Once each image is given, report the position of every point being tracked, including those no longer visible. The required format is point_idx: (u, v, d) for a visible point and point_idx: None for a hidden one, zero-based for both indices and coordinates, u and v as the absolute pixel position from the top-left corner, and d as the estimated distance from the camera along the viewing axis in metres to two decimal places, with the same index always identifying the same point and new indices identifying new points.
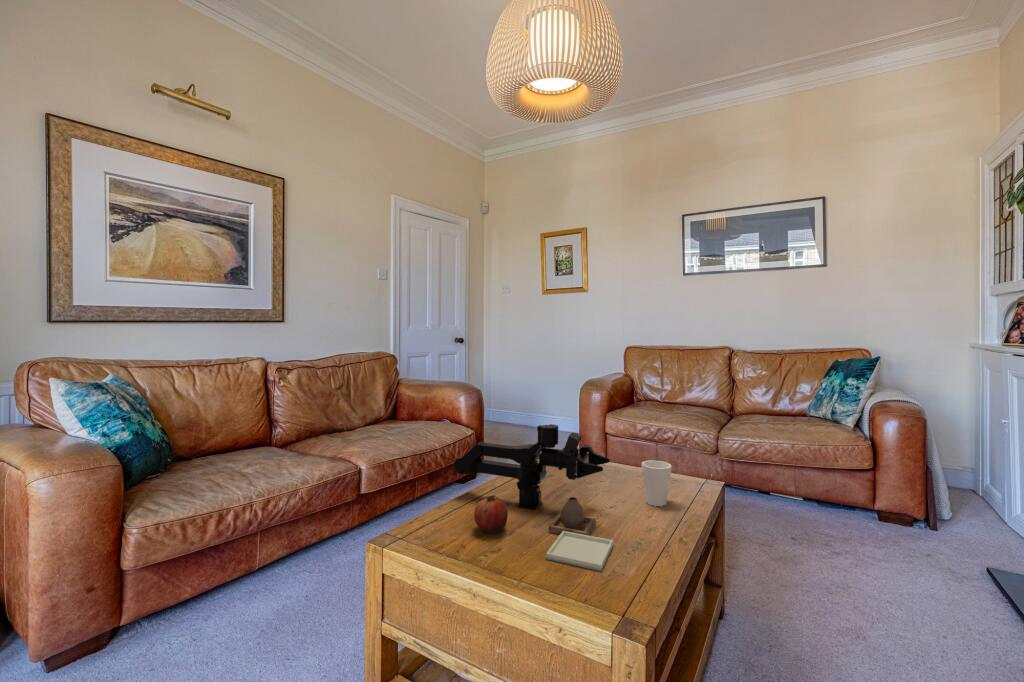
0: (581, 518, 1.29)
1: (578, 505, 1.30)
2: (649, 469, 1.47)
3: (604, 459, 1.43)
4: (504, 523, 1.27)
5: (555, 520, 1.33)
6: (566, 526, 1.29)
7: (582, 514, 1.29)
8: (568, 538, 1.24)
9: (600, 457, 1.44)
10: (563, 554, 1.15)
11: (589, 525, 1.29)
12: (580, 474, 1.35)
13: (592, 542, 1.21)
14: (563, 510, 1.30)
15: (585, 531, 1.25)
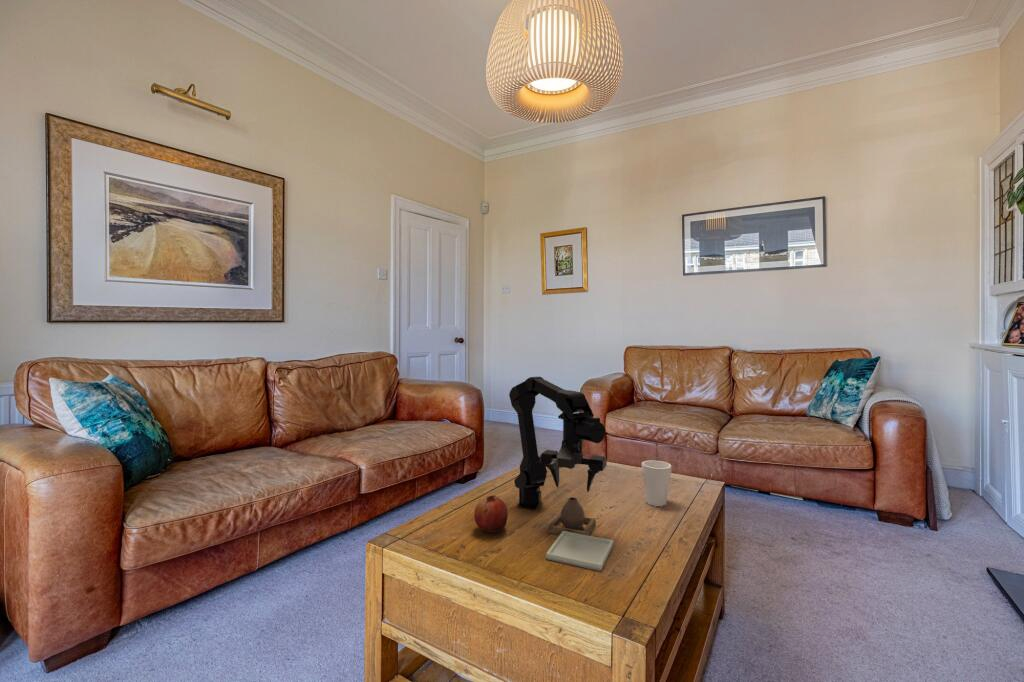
0: (581, 518, 1.29)
1: (578, 505, 1.30)
2: (649, 469, 1.47)
3: None
4: (504, 523, 1.27)
5: (555, 520, 1.33)
6: (566, 526, 1.29)
7: (582, 514, 1.29)
8: (568, 538, 1.24)
9: None
10: (563, 554, 1.15)
11: (589, 525, 1.29)
12: None
13: (592, 542, 1.21)
14: (563, 510, 1.30)
15: (585, 531, 1.25)
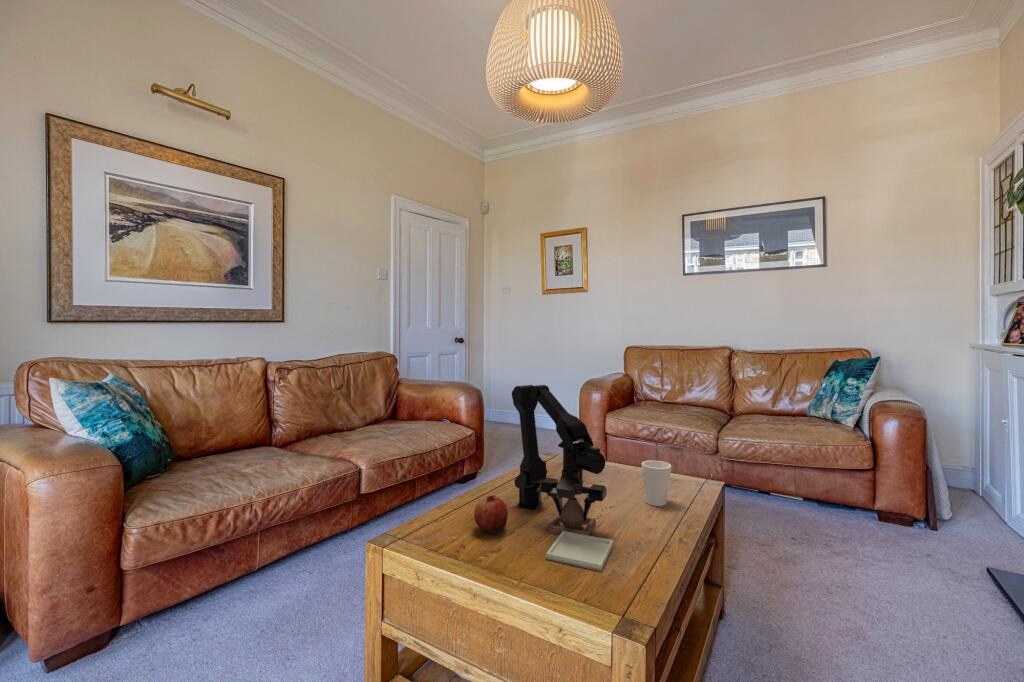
0: (581, 518, 1.29)
1: (578, 505, 1.30)
2: (649, 469, 1.47)
3: None
4: (504, 523, 1.27)
5: (555, 520, 1.33)
6: (566, 526, 1.29)
7: (582, 514, 1.29)
8: (568, 538, 1.24)
9: (584, 511, 1.29)
10: (563, 554, 1.15)
11: (589, 525, 1.29)
12: None
13: (592, 542, 1.21)
14: (563, 510, 1.30)
15: (585, 531, 1.25)
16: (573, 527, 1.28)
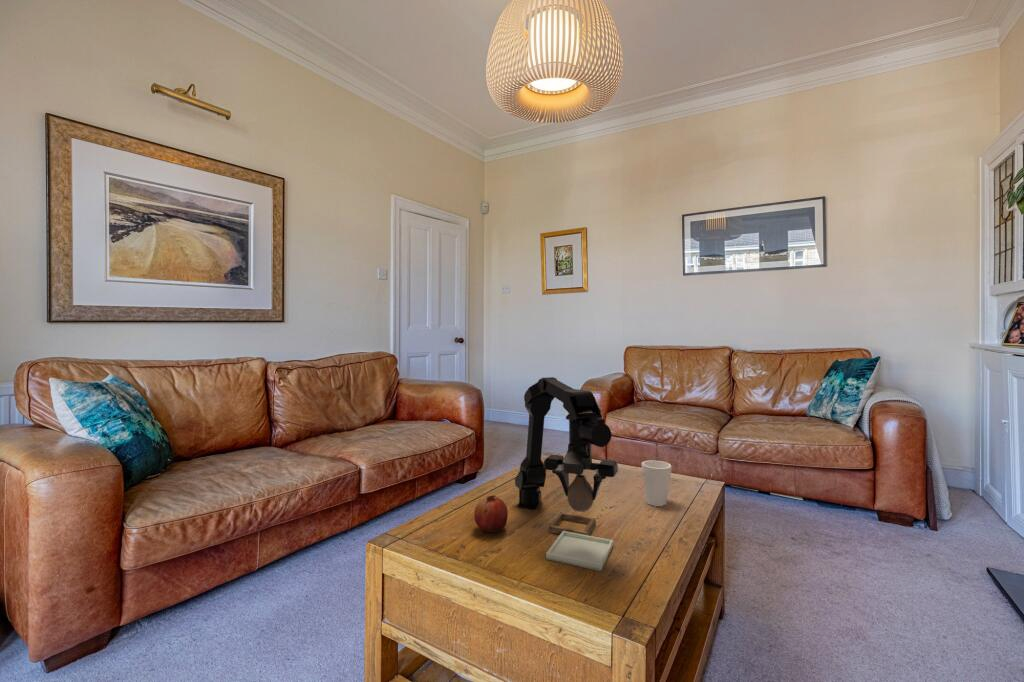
0: (590, 497, 1.16)
1: (586, 483, 1.18)
2: (649, 469, 1.47)
3: None
4: (504, 523, 1.27)
5: (555, 520, 1.33)
6: (574, 506, 1.17)
7: (591, 493, 1.17)
8: (568, 538, 1.24)
9: (593, 489, 1.17)
10: (563, 554, 1.15)
11: (589, 525, 1.29)
12: None
13: (592, 542, 1.21)
14: (570, 489, 1.18)
15: (585, 531, 1.25)
16: (581, 507, 1.16)
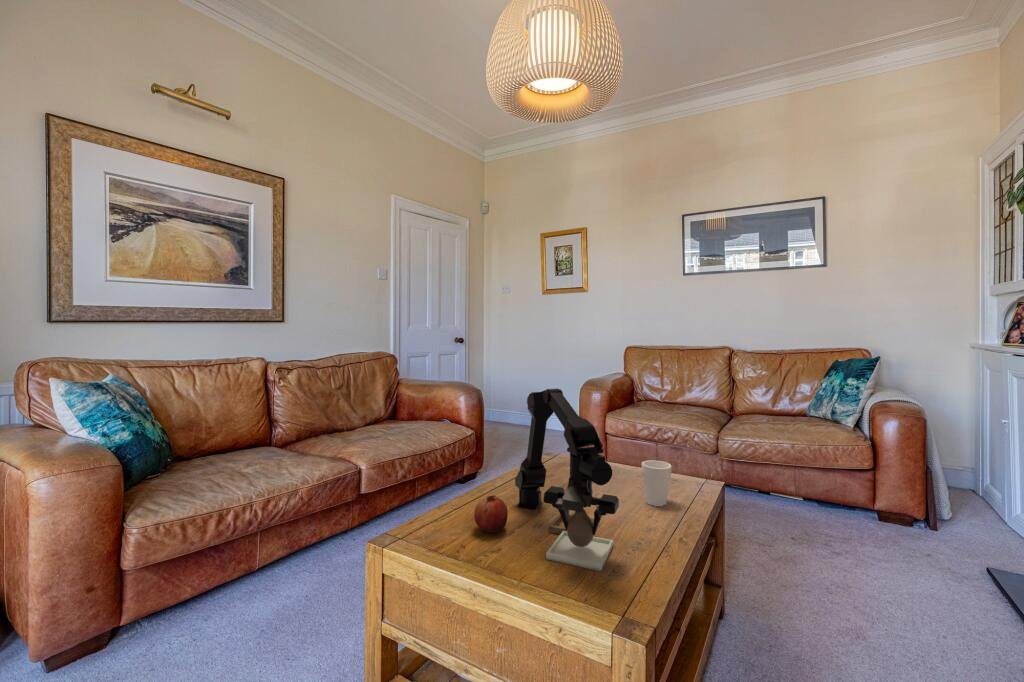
0: (590, 532, 1.15)
1: (587, 518, 1.16)
2: (649, 469, 1.47)
3: None
4: (504, 523, 1.27)
5: (555, 520, 1.33)
6: (573, 541, 1.15)
7: (591, 528, 1.15)
8: (568, 538, 1.24)
9: None
10: (563, 554, 1.15)
11: None
12: None
13: (592, 542, 1.21)
14: (570, 523, 1.16)
15: None
16: (581, 543, 1.14)
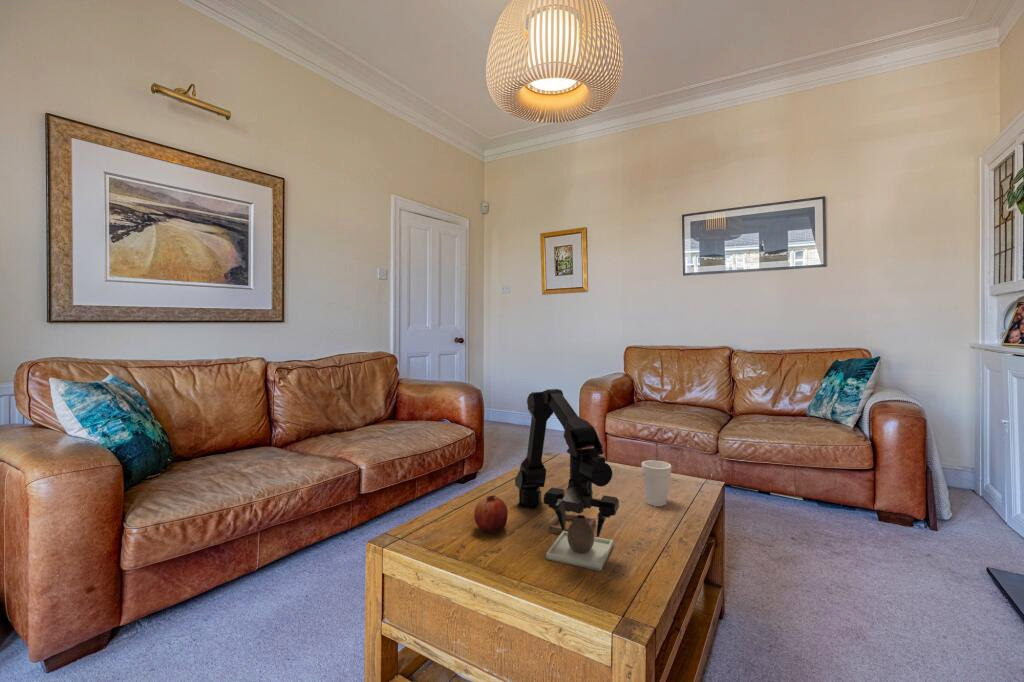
0: (590, 539, 1.15)
1: (587, 524, 1.16)
2: (649, 469, 1.47)
3: None
4: (504, 523, 1.27)
5: (555, 520, 1.33)
6: (574, 548, 1.15)
7: (591, 535, 1.15)
8: None
9: None
10: (563, 554, 1.15)
11: None
12: None
13: None
14: (570, 530, 1.16)
15: None
16: (581, 549, 1.14)
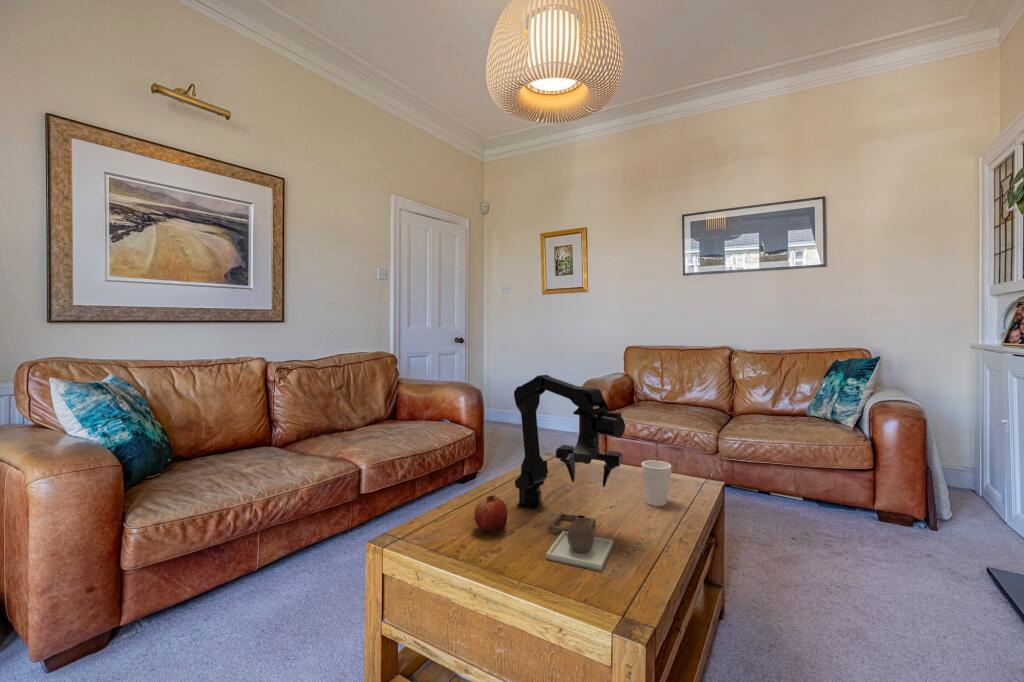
0: (590, 539, 1.15)
1: (587, 524, 1.16)
2: (649, 469, 1.47)
3: None
4: (504, 523, 1.27)
5: (555, 520, 1.33)
6: (574, 548, 1.15)
7: (591, 535, 1.15)
8: None
9: None
10: (563, 554, 1.15)
11: None
12: None
13: None
14: (570, 530, 1.16)
15: None
16: (581, 549, 1.14)
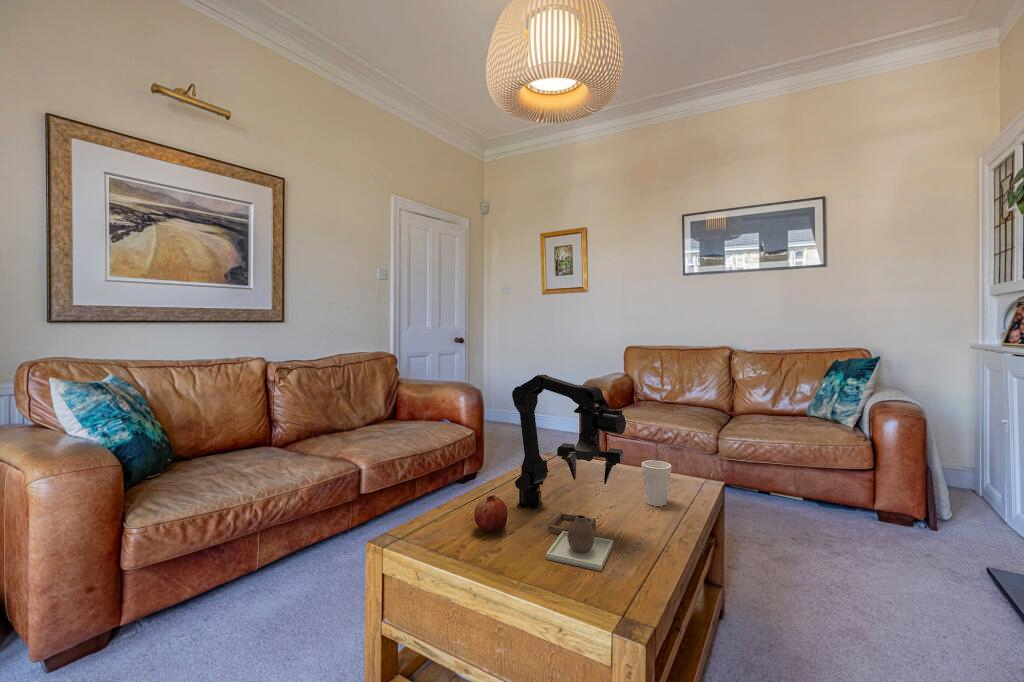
0: (590, 539, 1.15)
1: (587, 524, 1.16)
2: (649, 469, 1.47)
3: None
4: (504, 523, 1.27)
5: (555, 520, 1.33)
6: (574, 548, 1.15)
7: (591, 535, 1.15)
8: None
9: None
10: (563, 554, 1.15)
11: None
12: None
13: None
14: (570, 530, 1.16)
15: None
16: (581, 549, 1.14)
